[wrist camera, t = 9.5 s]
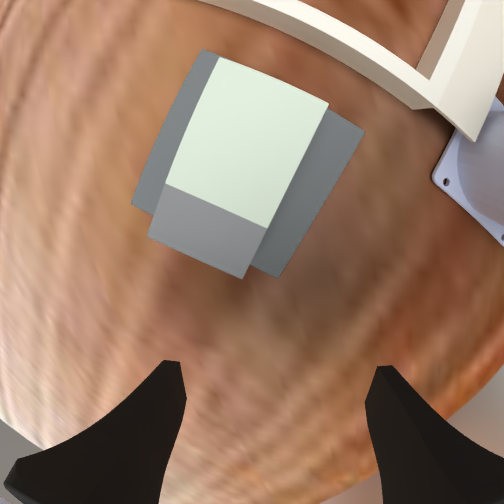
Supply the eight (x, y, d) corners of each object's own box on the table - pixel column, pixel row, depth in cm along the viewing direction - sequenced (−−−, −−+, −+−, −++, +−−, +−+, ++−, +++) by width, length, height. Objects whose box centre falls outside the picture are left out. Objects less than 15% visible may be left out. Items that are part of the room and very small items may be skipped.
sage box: (312, 112, 15) (329, 103, 10) (250, 240, 18) (242, 279, 13) (235, 78, 15) (219, 56, 10) (179, 208, 17) (146, 236, 13)
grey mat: (362, 131, 16) (365, 131, 15) (277, 275, 19) (277, 278, 19) (203, 51, 14) (202, 48, 14) (133, 201, 18) (130, 203, 18)
